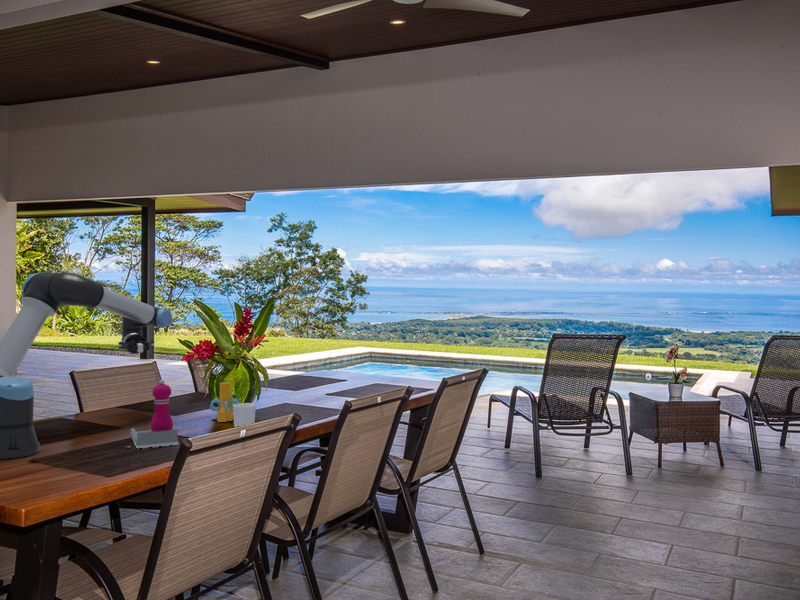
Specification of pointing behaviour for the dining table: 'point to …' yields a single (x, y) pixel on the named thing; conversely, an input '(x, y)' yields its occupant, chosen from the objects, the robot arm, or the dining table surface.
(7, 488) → the dining table surface
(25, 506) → the dining table surface
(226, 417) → the yellow post with rings
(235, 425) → the white cup
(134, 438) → the grey tray
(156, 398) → the pepper mill
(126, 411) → the dining table surface
